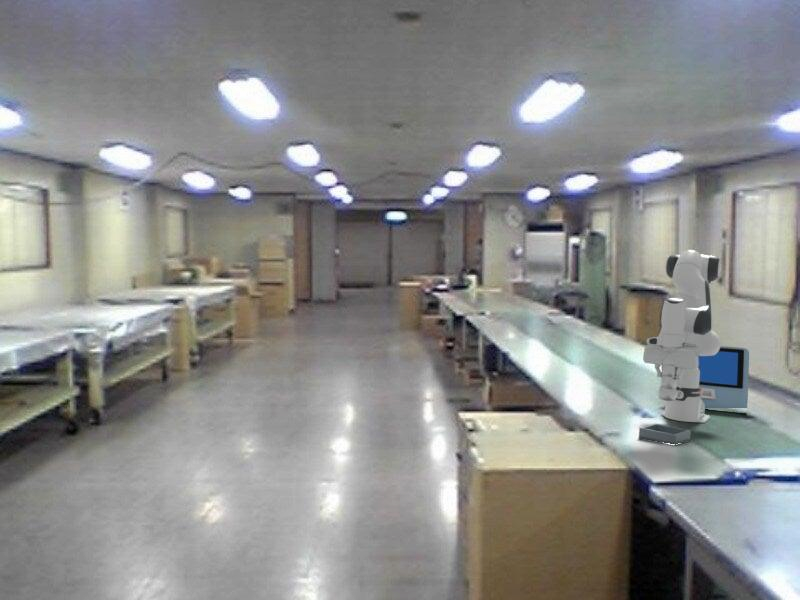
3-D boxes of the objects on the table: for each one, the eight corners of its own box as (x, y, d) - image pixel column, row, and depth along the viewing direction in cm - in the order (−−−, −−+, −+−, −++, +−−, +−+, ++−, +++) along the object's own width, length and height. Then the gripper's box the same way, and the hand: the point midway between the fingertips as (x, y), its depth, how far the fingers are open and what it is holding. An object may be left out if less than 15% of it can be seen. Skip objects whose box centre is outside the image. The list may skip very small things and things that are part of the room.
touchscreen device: (666, 406, 371) (671, 343, 370) (665, 401, 389) (669, 340, 389) (747, 415, 361) (752, 349, 360) (741, 409, 379) (746, 347, 379)
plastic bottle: (661, 398, 302) (665, 346, 301) (679, 401, 298) (683, 348, 297) (655, 400, 297) (659, 347, 296) (672, 403, 293) (677, 349, 292)
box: (654, 433, 308) (655, 423, 308) (689, 440, 299) (690, 430, 298) (638, 438, 297) (639, 428, 297) (675, 446, 288) (676, 435, 288)
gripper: (702, 344, 292) (700, 381, 292) (649, 338, 305) (647, 373, 306) (696, 345, 287) (693, 382, 288) (642, 338, 300) (640, 374, 301)
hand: (669, 378), depth 297 cm, fingers closed on plastic bottle, 6 cm apart
